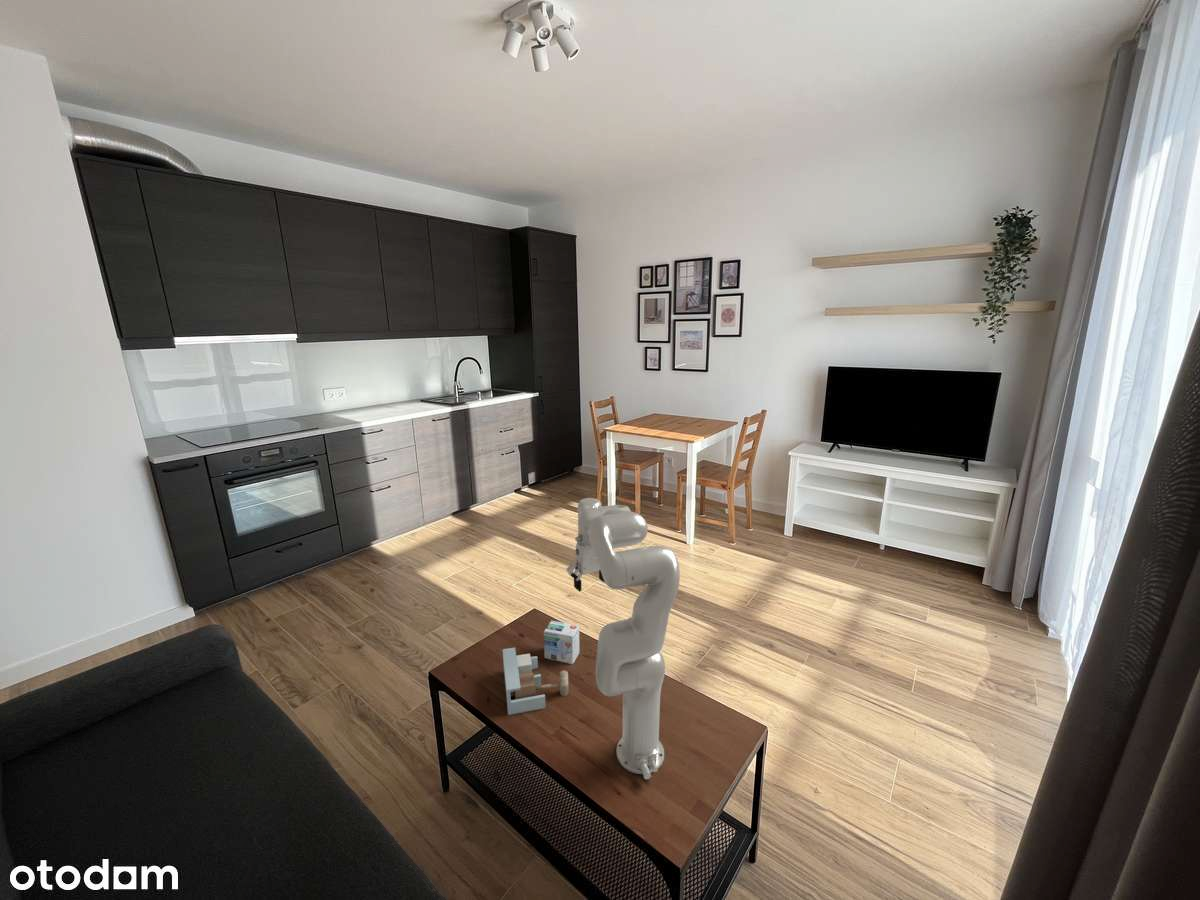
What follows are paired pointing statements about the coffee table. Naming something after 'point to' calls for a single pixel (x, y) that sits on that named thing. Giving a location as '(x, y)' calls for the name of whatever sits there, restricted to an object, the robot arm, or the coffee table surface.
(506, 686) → the lane cubby
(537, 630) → the coffee table surface
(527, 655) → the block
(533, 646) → the coffee table surface
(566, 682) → the tethered block
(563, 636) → the light bulb box
